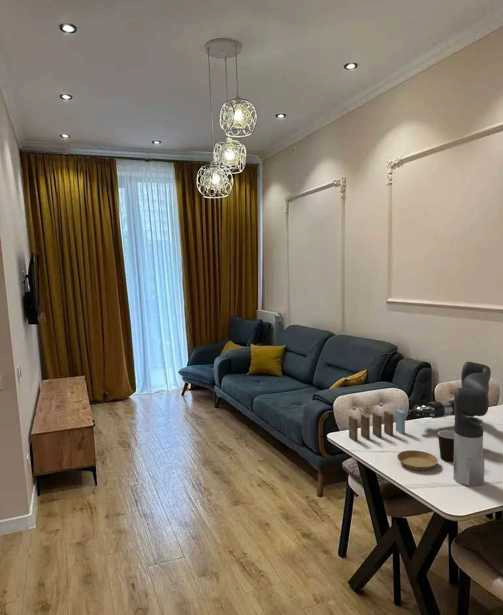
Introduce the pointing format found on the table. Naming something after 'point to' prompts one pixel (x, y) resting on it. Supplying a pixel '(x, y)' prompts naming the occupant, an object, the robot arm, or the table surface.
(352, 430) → the domino
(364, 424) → the domino
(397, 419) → the domino
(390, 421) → the domino
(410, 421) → the table surface
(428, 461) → the plant saucer
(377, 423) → the domino
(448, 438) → the coffee mug
